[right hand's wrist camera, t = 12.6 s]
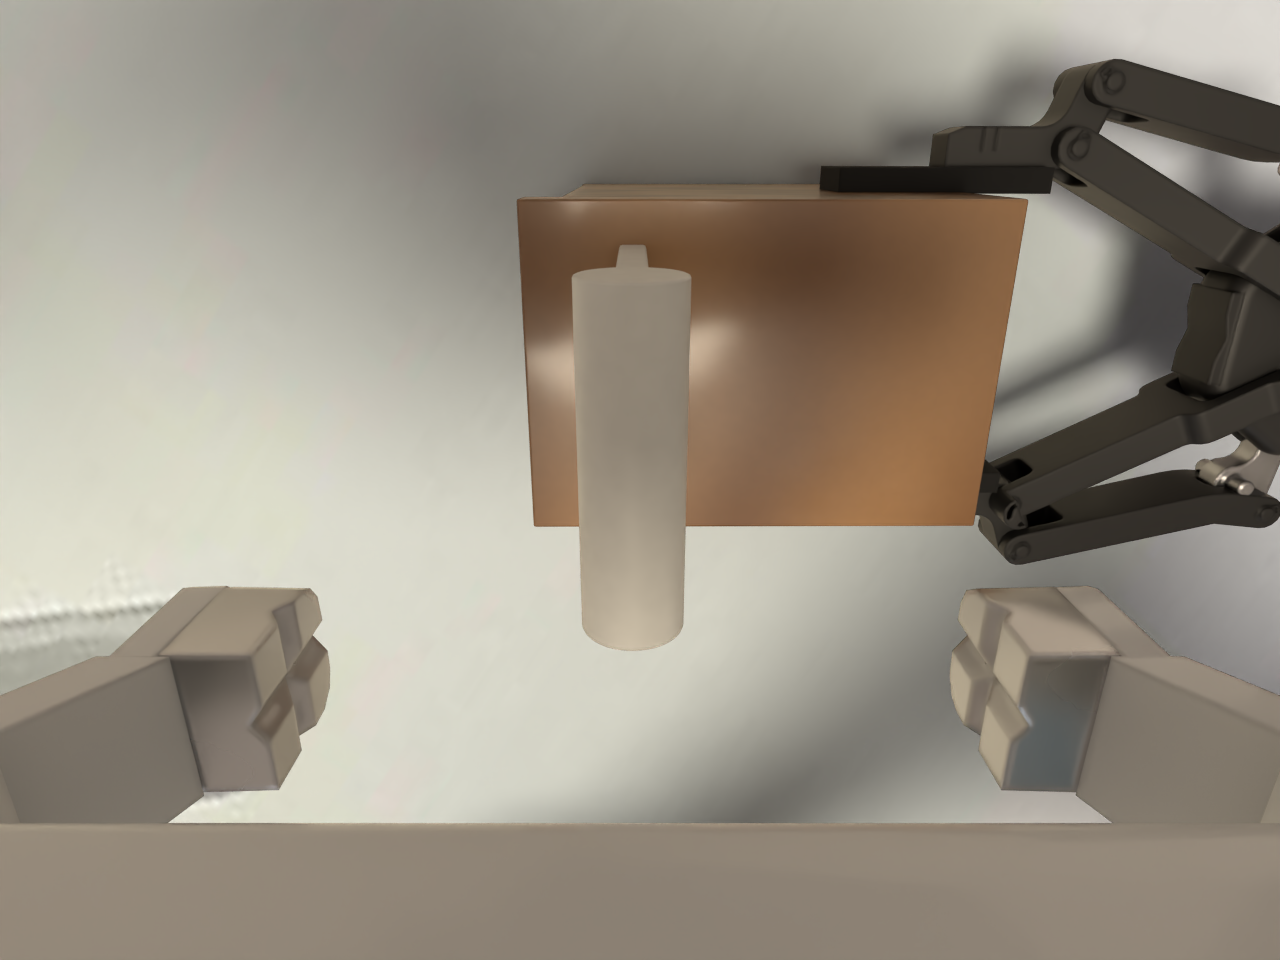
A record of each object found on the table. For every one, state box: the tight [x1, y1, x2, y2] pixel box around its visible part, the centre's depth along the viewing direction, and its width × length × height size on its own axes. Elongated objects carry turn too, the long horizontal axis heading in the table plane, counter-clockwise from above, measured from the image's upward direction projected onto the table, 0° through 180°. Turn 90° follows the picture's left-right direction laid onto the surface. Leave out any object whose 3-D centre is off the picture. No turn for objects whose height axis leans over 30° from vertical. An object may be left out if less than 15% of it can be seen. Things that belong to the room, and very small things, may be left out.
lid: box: [517, 197, 1028, 651], centre depth 19 cm, size 13×9×9 cm
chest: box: [563, 184, 1001, 197], centre depth 29 cm, size 12×9×11 cm
